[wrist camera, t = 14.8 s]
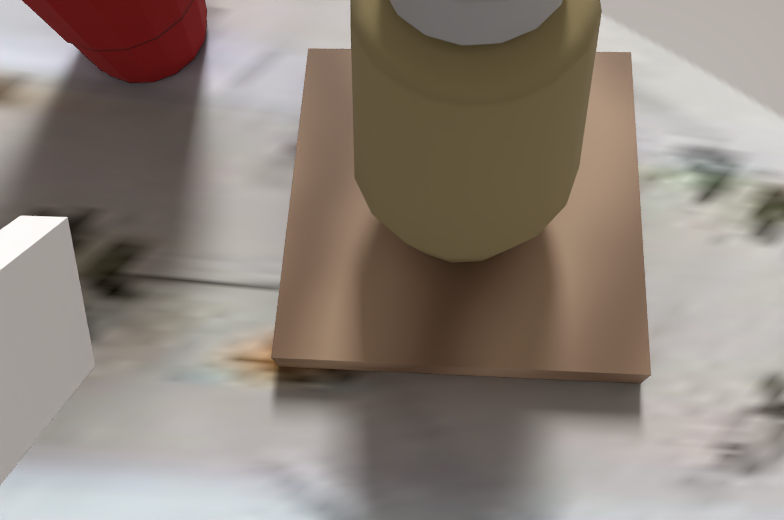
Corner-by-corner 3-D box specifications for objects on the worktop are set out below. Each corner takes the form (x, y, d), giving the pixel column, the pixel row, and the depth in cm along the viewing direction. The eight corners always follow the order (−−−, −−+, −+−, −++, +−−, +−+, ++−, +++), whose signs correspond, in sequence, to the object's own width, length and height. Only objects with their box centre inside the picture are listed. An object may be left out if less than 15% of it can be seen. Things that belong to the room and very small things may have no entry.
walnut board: (279, 366, 30) (271, 357, 28) (313, 68, 35) (308, 48, 33) (640, 383, 29) (650, 374, 27) (623, 73, 34) (630, 52, 32)
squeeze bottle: (590, 265, 29) (797, -127, 12) (385, 313, 29) (306, -19, 12) (531, 92, 32) (629, -418, 15) (344, 134, 32) (234, -334, 15)
